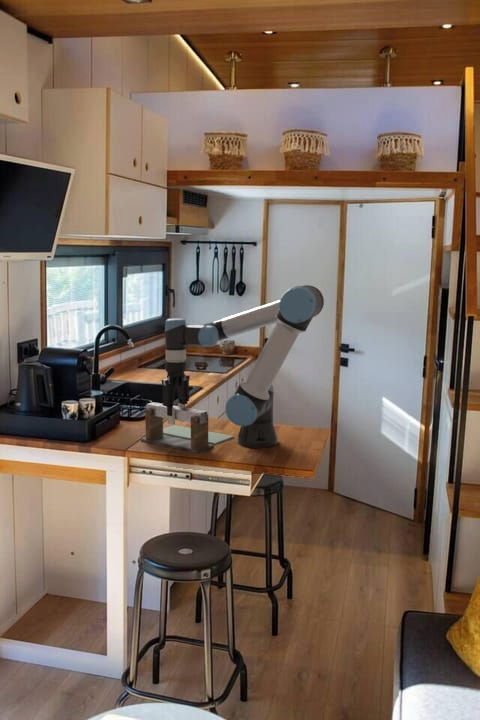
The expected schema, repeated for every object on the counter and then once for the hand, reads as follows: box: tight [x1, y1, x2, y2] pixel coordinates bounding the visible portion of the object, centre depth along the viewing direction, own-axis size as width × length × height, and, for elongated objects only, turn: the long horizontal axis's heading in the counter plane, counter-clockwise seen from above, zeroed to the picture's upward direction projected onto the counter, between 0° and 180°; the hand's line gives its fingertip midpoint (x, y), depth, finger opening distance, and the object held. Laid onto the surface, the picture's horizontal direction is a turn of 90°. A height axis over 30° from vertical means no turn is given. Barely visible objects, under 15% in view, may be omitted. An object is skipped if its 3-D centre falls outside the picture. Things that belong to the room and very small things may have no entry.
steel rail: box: [146, 401, 208, 424], centre depth 257 cm, size 26×4×4 cm, turn 55°
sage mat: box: [163, 424, 235, 445], centre depth 272 cm, size 30×12×1 cm, turn 55°
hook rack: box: [140, 407, 215, 454], centre depth 258 cm, size 28×9×12 cm, turn 55°
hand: (176, 422), depth 258 cm, fingers open, 5 cm apart
